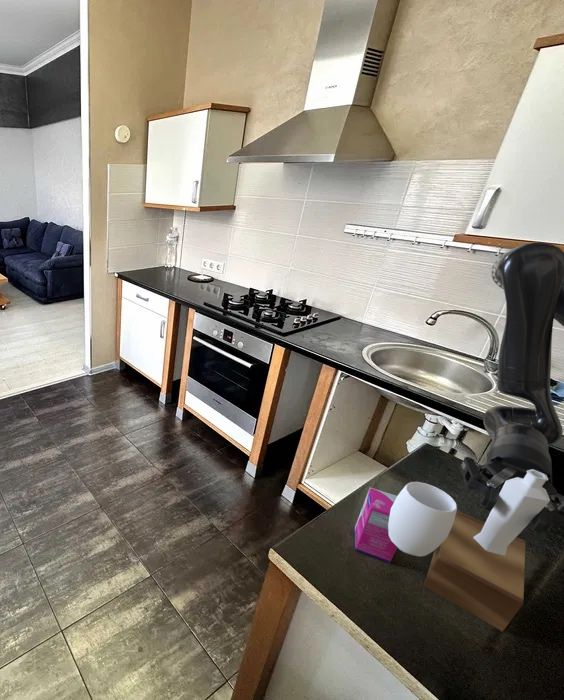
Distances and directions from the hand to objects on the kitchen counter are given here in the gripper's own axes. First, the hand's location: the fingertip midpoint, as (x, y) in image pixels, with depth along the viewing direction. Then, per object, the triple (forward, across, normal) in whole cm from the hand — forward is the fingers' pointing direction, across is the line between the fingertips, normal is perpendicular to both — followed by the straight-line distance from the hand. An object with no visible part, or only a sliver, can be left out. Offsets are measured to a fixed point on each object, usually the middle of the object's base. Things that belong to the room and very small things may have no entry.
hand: (514, 516), depth 55 cm
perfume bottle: (-3, 0, +9) cm, 9 cm away
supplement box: (-1, -13, +20) cm, 24 cm away
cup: (+6, -9, +20) cm, 23 cm away
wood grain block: (-6, 0, +20) cm, 21 cm away
